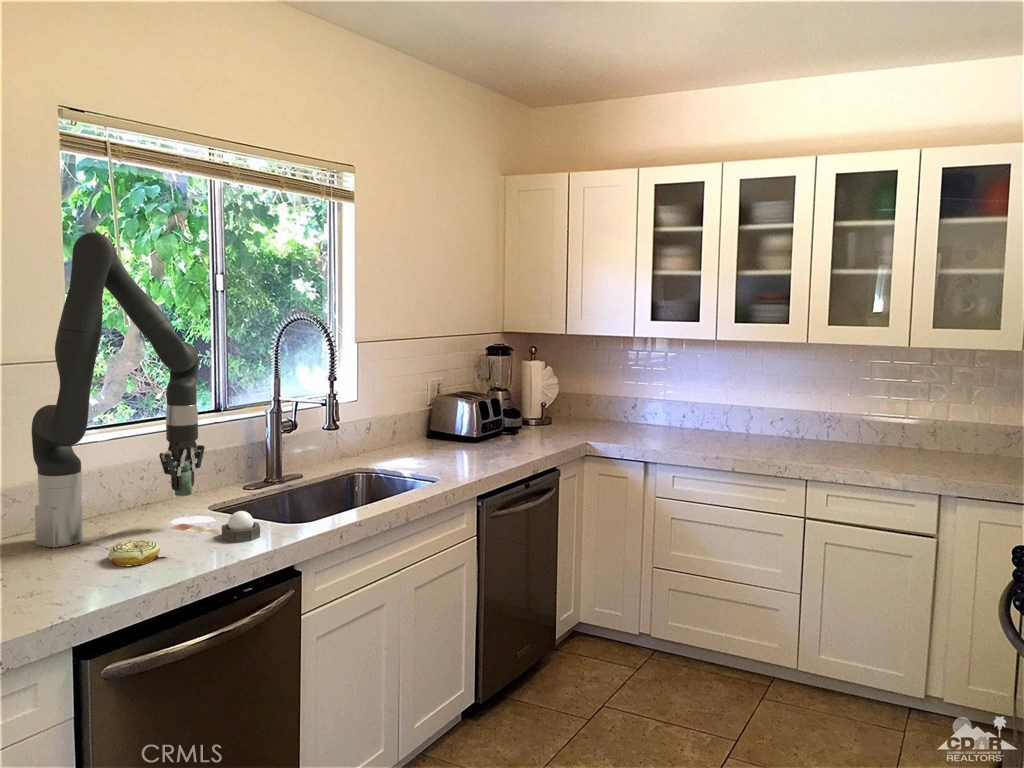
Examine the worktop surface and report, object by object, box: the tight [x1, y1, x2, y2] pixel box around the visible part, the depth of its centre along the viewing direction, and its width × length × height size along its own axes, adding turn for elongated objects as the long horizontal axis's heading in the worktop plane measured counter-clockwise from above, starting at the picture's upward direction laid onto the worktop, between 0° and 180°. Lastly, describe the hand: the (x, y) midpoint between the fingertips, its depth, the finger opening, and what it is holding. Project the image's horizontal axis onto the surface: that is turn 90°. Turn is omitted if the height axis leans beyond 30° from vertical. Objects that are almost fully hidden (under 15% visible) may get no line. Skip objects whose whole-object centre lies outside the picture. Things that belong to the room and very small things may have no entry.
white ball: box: [227, 510, 254, 531], centre depth 206 cm, size 6×6×6 cm
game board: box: [170, 521, 261, 543], centre depth 209 cm, size 10×25×4 cm, turn 69°
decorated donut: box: [107, 539, 161, 566], centre depth 190 cm, size 10×11×4 cm
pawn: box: [174, 461, 193, 497], centre depth 212 cm, size 4×4×9 cm
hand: (183, 487), depth 212 cm, fingers closed on pawn, 4 cm apart
